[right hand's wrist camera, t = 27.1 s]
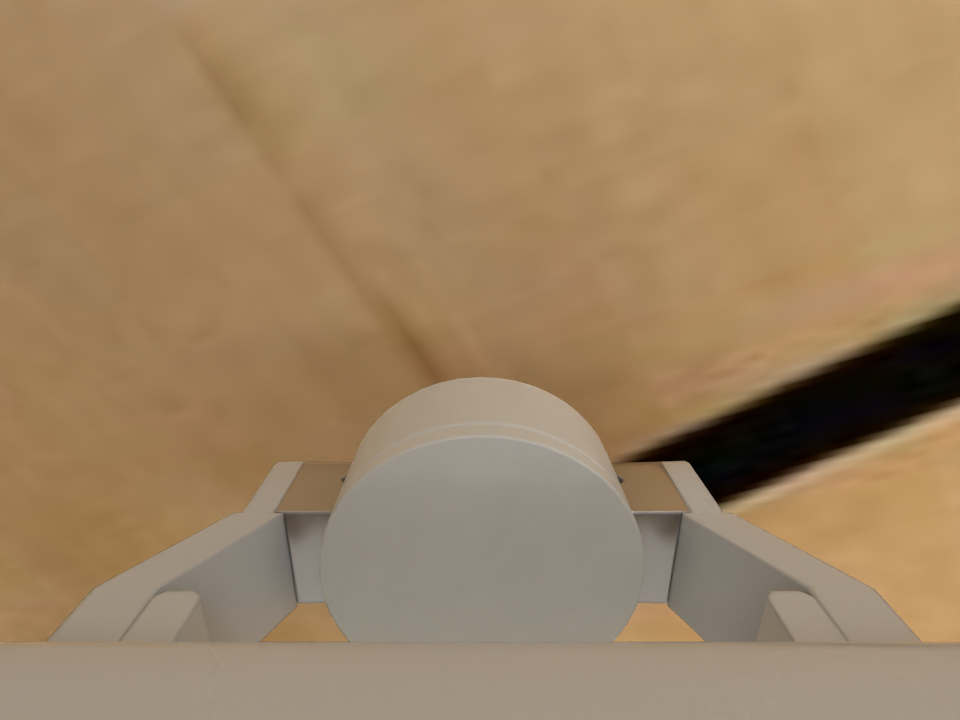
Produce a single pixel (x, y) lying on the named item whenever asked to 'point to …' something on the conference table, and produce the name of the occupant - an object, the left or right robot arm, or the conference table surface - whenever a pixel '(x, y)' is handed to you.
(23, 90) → the conference table surface
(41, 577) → the conference table surface
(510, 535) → the lid
